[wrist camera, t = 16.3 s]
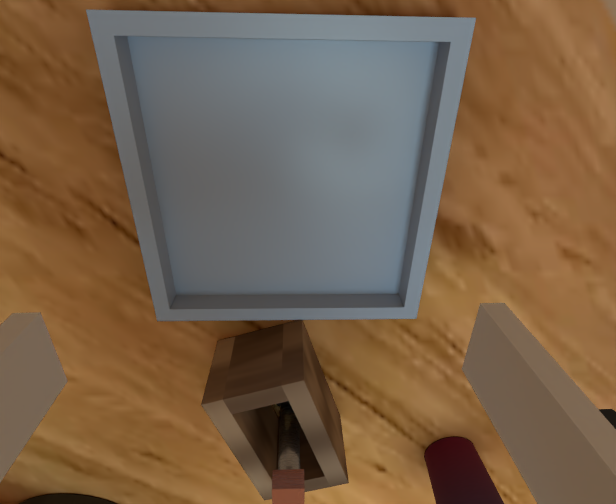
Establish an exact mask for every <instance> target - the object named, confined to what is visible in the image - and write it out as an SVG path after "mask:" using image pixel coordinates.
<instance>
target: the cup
mask: <svg viewBox="0 0 616 504" xmlns="http://www.w3.org/2000/svg"><path fill="white" fill-rule="evenodd" d="M424 457H425V461H426V465H427V469H428V473H429V477H430V481H431V485H432V489H433V493H434V496H435V500H436V504H504V503H503V501H502V499H501V497H500V495H499V493H498V491H497V489H496V487H495V485H494V483H493V481H492V480H491V478H490V476H489V474H488V472H487V470H486V468H485V466H484V464H483V462H482V460H481V459H480V457H479V455H478V453H477V451H476V449H475V447H474V445H473V443H472V442H471V441H469V440H468V439H465V438H462V437H448V438H443V439H440V440H438V441H436V442H434V443H433V444H431V445H430V446H429V447H428V448H427V450H426V451H425V456H424Z"/></svg>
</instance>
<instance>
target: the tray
mask: <svg viewBox="0 0 616 504" xmlns="http://www.w3.org/2000/svg"><path fill="white" fill-rule="evenodd" d="M86 12H87V16H88V21H89V25H90V29H91V34H92V38H93V42H94V47H95V51H96V55H97V60H98V64H99V69H100V73H101V77H102V82H103V86H104V90H105V95H106V99H107V104H108V108H109V112H110V117H111V121H112V125H113V130H114V134H115V138H116V143H117V147H118V152H119V156H120V160H121V165H122V169H123V173H124V178H125V182H126V187H127V191H128V195H129V200H130V204H131V208H132V213H133V217H134V221H135V226H136V230H137V235H138V239H139V243H140V248H141V252H142V256H143V261H144V265H145V269H146V274H147V278H148V283H149V287H150V291H151V296H152V300H153V304H154V309H155V313H156V318H157V321H228V320H334V319H416V318H417V313H418V308H419V303H420V298H421V293H422V287H423V282H424V277H425V272H426V267H427V262H428V257H429V252H430V247H431V242H432V237H433V232H434V227H435V222H436V217H437V212H438V207H439V202H440V197H441V192H442V187H443V182H444V177H445V172H446V167H447V162H448V156H449V151H450V146H451V141H452V136H453V131H454V126H455V121H456V116H457V111H458V106H459V101H460V96H461V91H462V86H463V81H464V76H465V71H466V66H467V61H468V56H469V51H470V46H471V41H472V36H473V30H474V25H475V20H476V18H457V17H409V16H362V15H315V14H268V13H221V12H173V11H126V10H86Z"/></svg>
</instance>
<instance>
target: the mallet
mask: <svg viewBox="0 0 616 504" xmlns="http://www.w3.org/2000/svg"><path fill="white" fill-rule="evenodd" d="M276 405H278V406H279V407H280V427H279V455H278V470H273V474H272V503H273V504H304V489H305V488H304V469H300V425H299V421H298V419H297V417H296V415H295V413H294V411H293V409H292V407H291V405H290V403H289V401H286V402H282V403H278V404H276Z"/></svg>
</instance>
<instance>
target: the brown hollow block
mask: <svg viewBox="0 0 616 504" xmlns="http://www.w3.org/2000/svg"><path fill="white" fill-rule="evenodd" d="M286 401H289V403H290V405H291V407H292V409H293V411H294V413H295V415H296V417H297V419H298V421H299V425H300V469H304V488H305V489H304V492H307V491H312V490H317V489H322V488H327V487H332V486H337V485H341V484H346V483H349V482H348V474H347V466H346V458H345V450H344V442H343V434H342V426H341V419H340V415H339V412H338V409H337V407H336V404H335V402H334V399H333V397H332V394H331V392H330V389H329V387H328V384H327V381H326V379H325V376H324V374H323V371H322V369H321V366H320V364H319V361H318V359H317V356H316V354H315V351H314V348H313V346H312V343H311V341H310V338H309V336H308V333H307V331H306V328H305V326H304V323H303V320H297V321H293V322H289V323H286V324H282V325H278V326H274V327H270V328H266V329H262V330H258V331H255V332H251V333H247V334H243V335H239V336H235V337H231V338H227V339H224V340H220V341H217V345H216V349H215V353H214V357H213V361H212V365H211V369H210V373H209V376H208V380H207V384H206V388H205V392H204V396H203V400H202V404H201V405H202V407H203V408H204V410H205V411H206V413H207V414H208V416H209V417H210V419H211V420H212V422H213V423H214V425H215V427H216V428H217V430H218V431H219V433H220V434H221V436H222V437H223V439H224V440H225V442H226V443H227V445H228V446H229V448H230V449H231V451H232V452H233V454H234V455H235V457H236V458H237V460H238V461H239V463H240V464H241V466H242V467H243V469H244V470H245V472H246V473H247V475H248V477H249V478H250V480H251V481H252V483H253V484H254V486H255V487H256V489H257V490H258V492H259V493H260V495H261V496H262V498H263V499H264V500H268V499H272V474H273V470H278V455H279V427H280V419H278V417H277V415H276V414H275V412H274V410H273V408H272V406H271V405H273V404H278V403H282V402H286Z"/></svg>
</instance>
